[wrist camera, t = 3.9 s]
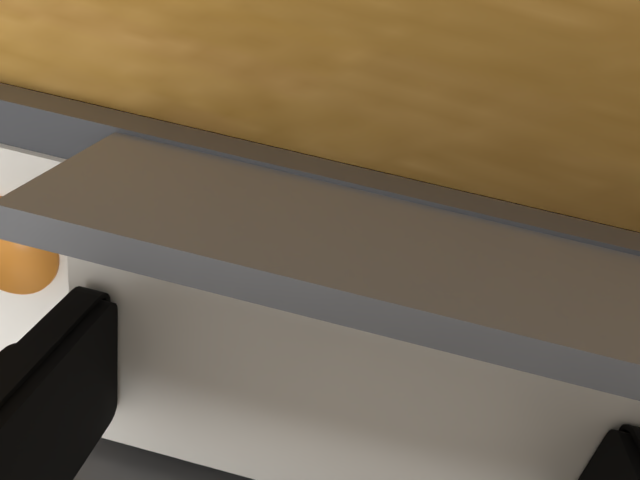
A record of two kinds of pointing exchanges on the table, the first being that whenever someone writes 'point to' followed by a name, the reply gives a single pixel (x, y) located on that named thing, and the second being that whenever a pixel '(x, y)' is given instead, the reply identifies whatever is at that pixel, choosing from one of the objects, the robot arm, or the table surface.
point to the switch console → (303, 249)
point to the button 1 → (330, 395)
